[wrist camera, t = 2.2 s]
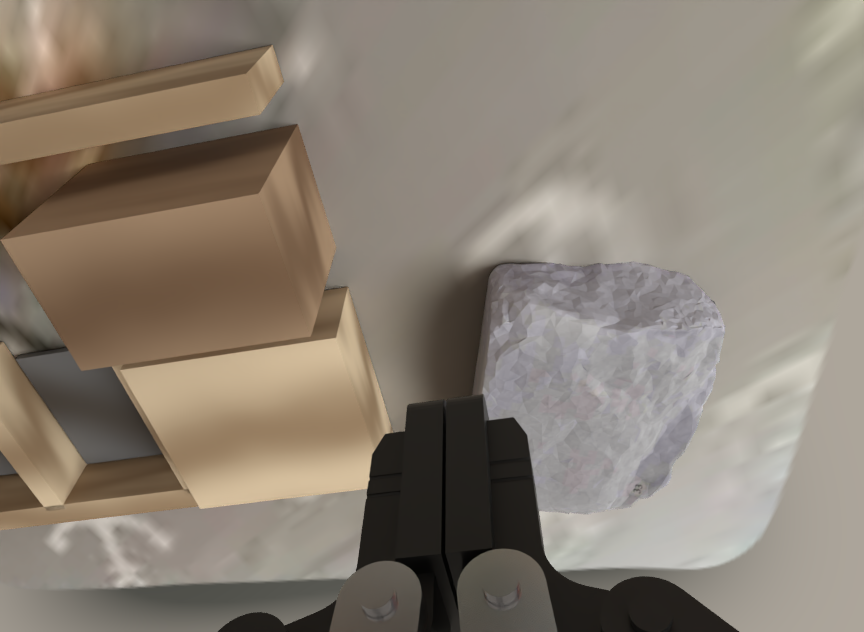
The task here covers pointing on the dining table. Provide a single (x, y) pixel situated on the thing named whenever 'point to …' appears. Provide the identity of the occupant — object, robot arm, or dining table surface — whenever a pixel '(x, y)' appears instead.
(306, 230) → the walnut block
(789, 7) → the dining table surface
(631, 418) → the stone block
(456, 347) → the dining table surface
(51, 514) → the box
